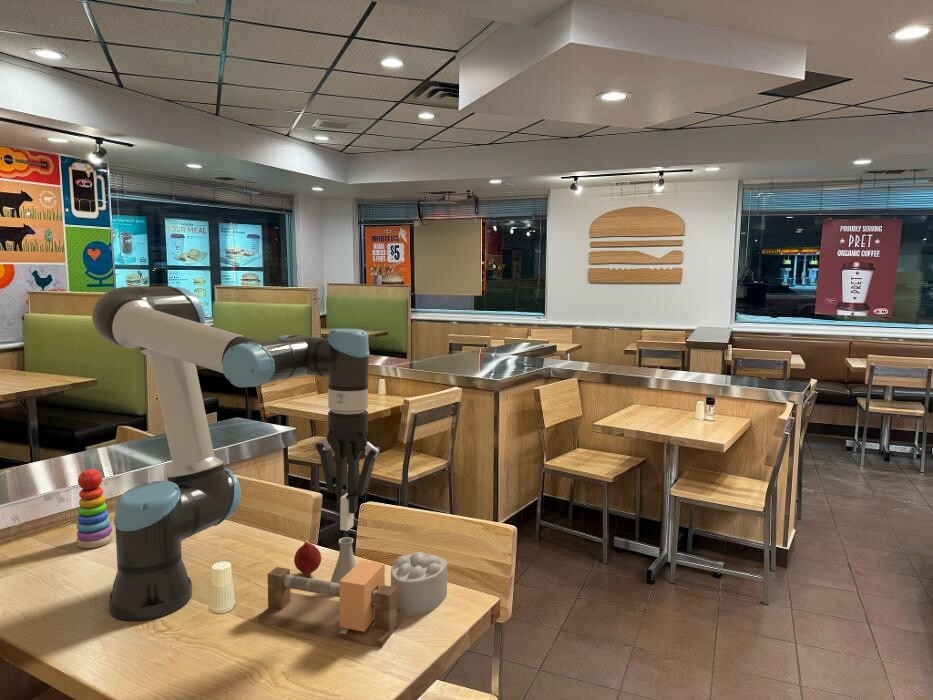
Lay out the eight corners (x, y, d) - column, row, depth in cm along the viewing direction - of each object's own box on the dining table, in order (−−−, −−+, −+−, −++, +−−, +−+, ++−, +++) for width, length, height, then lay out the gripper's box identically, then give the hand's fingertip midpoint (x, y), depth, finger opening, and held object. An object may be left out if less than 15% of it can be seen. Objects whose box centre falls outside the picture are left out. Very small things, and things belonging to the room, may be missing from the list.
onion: (323, 568, 142) (323, 535, 141) (318, 581, 136) (317, 546, 135) (297, 568, 142) (297, 535, 141) (291, 581, 136) (291, 546, 135)
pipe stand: (257, 622, 120) (257, 582, 119) (286, 597, 129) (286, 559, 128) (382, 647, 112) (382, 604, 111) (403, 618, 122) (403, 579, 121)
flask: (355, 594, 131) (355, 549, 130) (323, 590, 132) (323, 545, 131) (367, 578, 138) (367, 535, 137) (337, 574, 139) (336, 531, 138)
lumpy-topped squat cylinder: (452, 591, 133) (453, 553, 132) (423, 622, 121) (424, 579, 120) (410, 581, 137) (410, 543, 136) (378, 609, 125) (378, 568, 124)
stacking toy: (81, 537, 156) (77, 465, 154) (117, 534, 158) (113, 463, 156) (71, 551, 148) (67, 475, 146) (109, 547, 151) (105, 472, 148)
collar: (339, 627, 115) (339, 581, 114) (361, 602, 124) (361, 559, 123) (364, 631, 114) (364, 585, 113) (384, 607, 122) (384, 563, 121)
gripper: (307, 410, 117) (307, 530, 120) (370, 417, 113) (369, 540, 116) (327, 403, 124) (326, 516, 127) (387, 409, 120) (385, 525, 123)
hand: (346, 527), depth 122 cm, fingers closed
